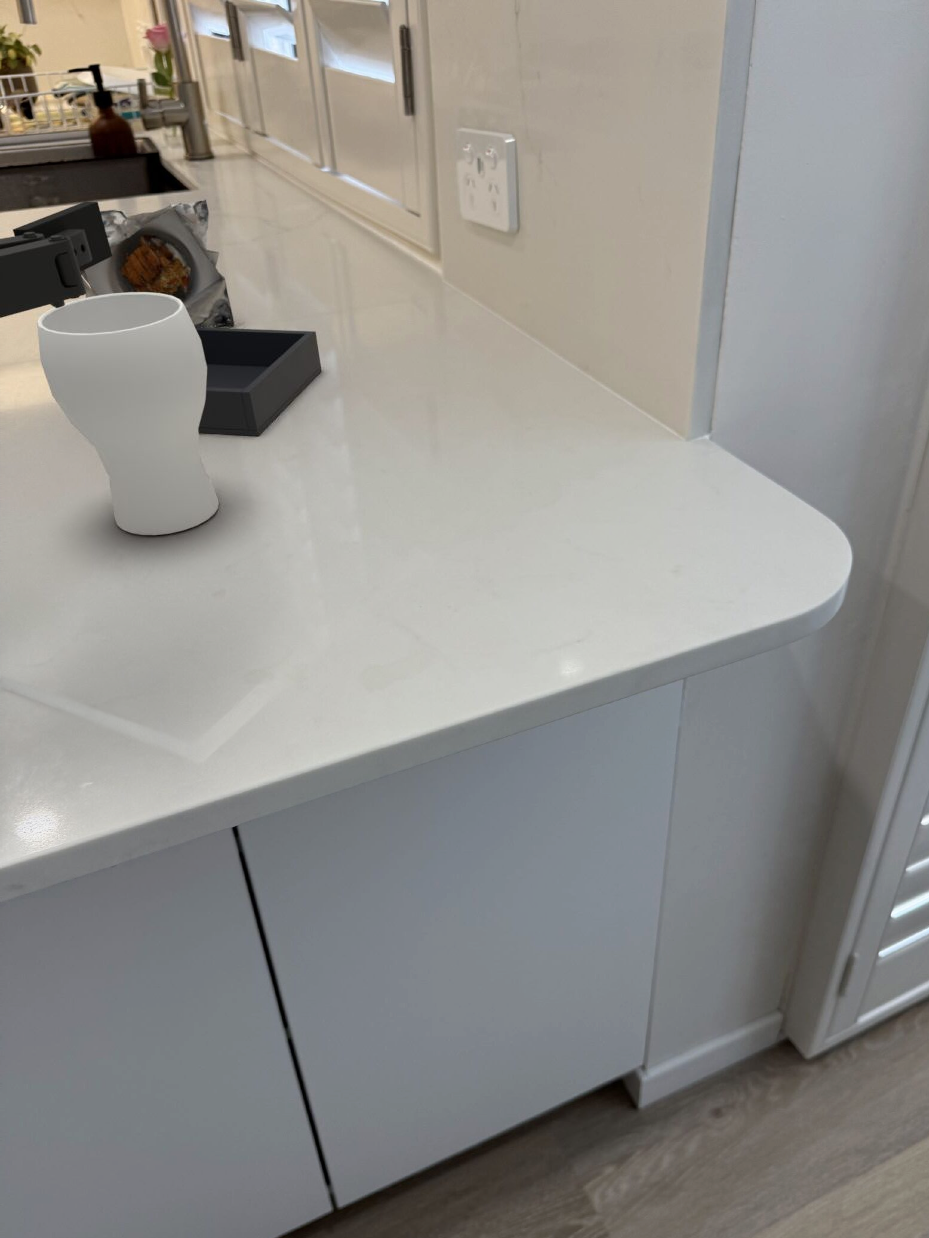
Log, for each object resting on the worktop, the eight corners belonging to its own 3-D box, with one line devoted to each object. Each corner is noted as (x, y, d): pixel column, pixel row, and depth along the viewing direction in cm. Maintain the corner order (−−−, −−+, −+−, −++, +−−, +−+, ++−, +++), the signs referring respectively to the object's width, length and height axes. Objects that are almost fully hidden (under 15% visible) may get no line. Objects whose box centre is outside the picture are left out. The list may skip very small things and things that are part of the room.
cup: (163, 472, 78) (111, 283, 69) (265, 495, 75) (224, 298, 65) (65, 529, 71) (-9, 326, 62) (172, 558, 67) (111, 346, 58)
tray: (89, 426, 87) (75, 384, 84) (172, 364, 99) (163, 325, 97) (258, 436, 84) (249, 392, 81) (321, 371, 97) (315, 331, 94)
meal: (227, 318, 112) (202, 196, 104) (235, 328, 109) (209, 203, 100) (95, 338, 107) (58, 211, 99) (99, 349, 104) (61, 219, 96)
